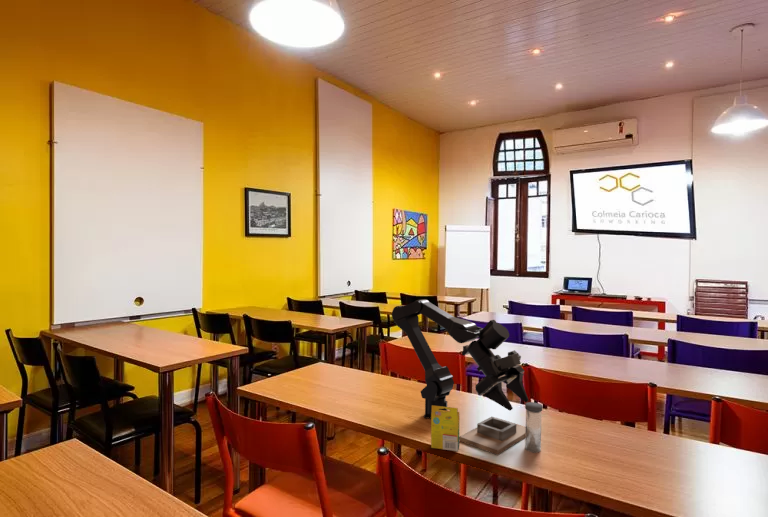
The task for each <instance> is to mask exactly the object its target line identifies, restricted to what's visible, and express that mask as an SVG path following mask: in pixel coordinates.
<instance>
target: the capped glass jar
mask: <svg viewBox="0 0 768 517" xmlns="http://www.w3.org/2000/svg"><path fill="white" fill-rule="evenodd" d="M524 408H525V427H526V431H525V438H524V439H525V440H524V442H525V444H524V448H525V450H526V451H527V452H529V453H536V454H537V453H540V452H541V451H542V450H541V449H542V445H541V444H542V412H543V405H542V404H541V403H537V402H531V401H528V402H525V405H524Z"/></svg>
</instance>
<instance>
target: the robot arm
mask: <svg viewBox="0 0 768 517" xmlns="http://www.w3.org/2000/svg"><path fill="white" fill-rule="evenodd" d="M391 312H392V313H391V317H392V318H391V319H392V320H393V321H394V323H395V324H396V326H397V327H398V328H399V329H401V330H402V332H404V333H405V334H406V336H407V339H408V341H409V342H410V344H411V346H412V348H413V350H414V352H415V354H416V356H417V359H418V360H419V361H420V364H421V365H422V368H423V369H424V382H425V385H426V386H424V387H423V388H422V389H421V390H420V395H421V398H422V399H424V400H425V401H424V414H423V418H425V419H431V412H432V411H431V410H432V405H433V406H443V407H448V400H447V396H449V395H450V393H451V391H452V390H453V389H454V385H455V383H454V382H455V381H454V379H453V378H454V376H453V375H452V373H451V372H450V370H449V369H450V368H449V367H448V366H446V365H445V366H442V365H441V364H439V362H438V360H437V359H436V357H435V355H434V352H433V351H432V349H431V347H430V345H429V343H428V341H427V340H426V337H425V336H424V334H423V332H422V330H421V328H420V326H419V320H420V318H419V315H420V316H421V315H423V316H424V317H426V318H427V319H429V320H431V321H432V322H434V323H435V324H437V325H438V326H440V327H442V328H443V329H444V330H446V331H447V332H448V334H449V337H451V338H452V339H453V340H454V341H455V342H457V343H458V344H464V343H469V342H470V343H469V344H468V345H463V346H462V353H461V356H467V355H470V357H471V358H472V359H473V361H474V362H475V364H476V365H477V368H476V370H477V371H478V372H482V373H483V375H484V377H483V378H482V379H481V380H479V381H478V383H476V384H475V387H474V388H475V391H476V393H477V394H478V396H482V397H483V398H487V399H488V400H491V401H493V402H495V403H496V404H498V405H499V406H501V407H503V408H504V409H506V410H508V411H512V410H513V409H514V408H513V405H512V404H511V402H510V400H509V399H508V398H507V395H506V394H505V393H504V391H503V384H502V382H503V383H504V384H505V385H506V388H507V389H509V390H510V391H511V392H512V393H513V394H515V395H516V396H517V397H518V398H520V400H522V401H523V402H524V403H528V402H530V401H529V398H528V395H527V392H526V389H525V387H524V383H523V376H525V370H524V368H523V367H522V365H521V364H522V362H521V358H522V356H521V355H520V354H519V352H517V351H516V350H512V351H509V352H507V356H504V357H501V355H499V354H494V352H493V351H492V350H497V349H498V348H499V347H500V346H501V345H502V344H503V343H504V342H506V340H507V339H508V338H509V337H510V333H509V330H508V328H507V327H506V326H504V325H502V324H501V323H500V322H497V321H496V319H491V320H489V321H488V322H487V323H486V325H485V326H484V327H483V328H482V327H480V326H477V324H476V323H474V322H471V321H470V320H467V319H463V318H458V317H455V316H454V315H452V314H450V313H449V312H447V311H445V310H444V309H441V308H440V307H438V306H436V305H435V304H433V303H432V302H430V301H429V300H428V299H425V298H424V299H417V300H415V301H413V302H410V303H407V304H403V305H396V306H394V307H393V309H392V311H391ZM476 339H477V340H476ZM439 410H446V411H448V410H447V409H445V408H444V409H439Z"/></svg>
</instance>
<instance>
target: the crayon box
mask: <svg viewBox="0 0 768 517" xmlns="http://www.w3.org/2000/svg"><path fill="white" fill-rule="evenodd" d="M444 408H445V409H447V411H446V410H439V409H444ZM458 410H459V408H458V407H451V406H447V407H443V406H433V405H432V410H431V411H432V412H431V418H430V420H431V422H430V427H431V428H430V430H431V431H430V438H431V439H430V442H431V443H430V448H431V449H439V450H444V451H446V450H447V451H453V452H456V453H457V452H459V448H460V441H459V436H460V411H458Z"/></svg>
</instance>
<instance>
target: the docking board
mask: <svg viewBox="0 0 768 517" xmlns="http://www.w3.org/2000/svg"><path fill="white" fill-rule="evenodd" d="M525 431H526V425H525V426H524V425H522V424H518V423H515V422H512V421H508V420H506V419H505V420H504V419H502V418H499V417H494V416H489V417H488V418H486V419H484V420H482V421H480V422H478V423H477V425H476V427H475V428H473V429H471V430H469V431H467V432H465V433H464V434H462V435H459V442H462V443H465V444H467V445H469V446H472V447H475V448H477V449H480V450H483V451H486V452H489V453H490V454H491V453H492V454H494V455H496V456H498V455H500V454H502V453H503V452H504V451H506V450H507V449H509V448H511V447H512V446H514V445H515V444H517V443H519V442H520V441H522V440H524V439H525Z"/></svg>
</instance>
